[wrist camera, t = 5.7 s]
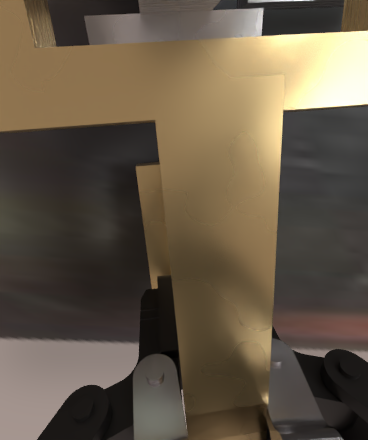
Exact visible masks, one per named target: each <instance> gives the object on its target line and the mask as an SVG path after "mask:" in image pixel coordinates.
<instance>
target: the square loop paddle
mask: <svg viewBox="0 0 368 440" xmlns="http://www.w3.org/2000/svg"><path fill="white" fill-rule="evenodd" d="M363 106H368V0H344V8H343V18H342V27H341V32H335V33H316V34H297V35H277V36H258V37H239V38H219V39H200V40H181V41H161V42H142V43H123V44H103V45H84V46H65V47H57V46H56V41H55V36H54V32H53V27H52V22H51V17H50V12H49V7H48V2H47V0H0V133H17V132H31V131H44V130H57V129H70V128H84V127H97V126H110V125H124V124H137V123H150V122H155V124H156V134H157V143H158V153H159V162H152V163H140V164H137V165H136V174H137V181H138V189H139V196H140V203H141V211H142V218H143V226H144V233H145V241H146V248H147V255H148V263H149V270H150V278H151V285H152V289H157V288H158V284H157V276H163V275H171V279H172V288H173V298H174V308H175V318H176V327H177V337H178V347H179V357H180V367H181V377H182V386H183V396H184V404H185V414H186V424H187V433H188V440H266V439H267V420H266V418H267V407H268V399H269V379H270V359H271V340H272V320H273V300H274V280H275V260H276V241H277V221H278V201H279V181H280V161H281V142H282V122H283V112H296V111H310V110H323V109H336V108H350V107H363Z"/></svg>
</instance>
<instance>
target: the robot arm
mask: <svg viewBox="0 0 368 440" xmlns="http://www.w3.org/2000/svg"><path fill="white" fill-rule="evenodd" d="M157 284H158V288H157V289H148V290H146V291H145V293H144V295H143V297H142V299H141V313H140V340H139V359H138V362H137V365H136V367H135V368H134V370H133V371H132V373H131V374H130V375H129V376H128V377H126V378H125V379H124V380H122V381H120V382H118V383H116V384H114V385H113V386H110V387H109V388H106V389H103V388H101V387H100V386H97V385H87V386H84V387H81V388H79V389H78V390H76V391H75V392H73V393H72V394H71V395H70V396H69V397H68V398H67V400H66V401H65V402H64V403H63V405H62V406H61V408H60V409H59V410H58V412H57V413H56V415H55V416H54V417H53V418H52V420H51V421H50V423H49V424H48V425H47V427H46V428H45V430H44V431H43V432H42V434H41V435H40V436H39V438H38V439H37V440H188V435H187V429H186V423H185V417H184V411H183V405H182V395H181V389H183V386H182V377H181V367H180V357H179V347H178V337H177V327H176V318H175V308H174V298H173V288H172V279H171V275H163V276H157ZM266 420H267V439H266V440H368V362H366V361H365V360H363V359H362V358H360V357H359V356H357V355H356V354H354V353H352V352H349V351H346V350H341V349H335V350H331V351H329V352H328V353H327V354H326V355H325V358H323V357H317V356H311V355H305V354H301V353H298V352H296V351H294V350H292V349H291V348H290V347H289V346H288V345H287V344H285V343H284V342H282V341H281V340H280V339H279V337H278V335H277V333H276V331H275V329H274V327H273V325H272V340H271V359H270V379H269V399H268V407H267V418H266Z"/></svg>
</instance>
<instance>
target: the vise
mask: <svg viewBox="0 0 368 440" xmlns="http://www.w3.org/2000/svg"><path fill="white" fill-rule="evenodd" d="M220 1H221V0H138V3H139V10H140V14H117V15H94V16H84V19H85V24H86V29H87V34H88V39H89V45H103V44H123V43H142V42H161V41H181V40H200V39H219V38H239V37H258V36H261V35H262V22H263V10H278V9H301V8H323V7H344V0H237V9H232V10H212V9H213V8H214V7H215V6H216V5H217V4H218V3H219V2H220Z"/></svg>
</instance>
